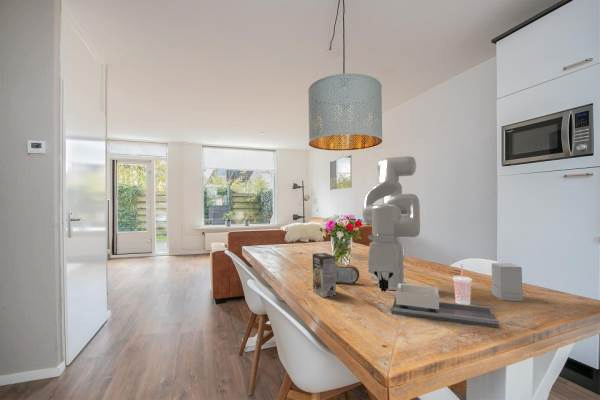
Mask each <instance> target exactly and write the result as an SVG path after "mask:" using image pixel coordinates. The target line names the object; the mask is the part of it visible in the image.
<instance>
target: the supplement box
mask: <svg viewBox="0 0 600 400" xmlns="http://www.w3.org/2000/svg"><path fill="white" fill-rule="evenodd" d="M522 271H523V269H522V266H519V265H517V264H513V263H507V262H495V263H494V262H492V263H491V284H492V288H491V290H492V295H493V296H494V297H496V298H497V299H499V300H501V301H507V302H509V301H511V302H523V300H524V295H523V293H524V291H523V272H522Z"/></svg>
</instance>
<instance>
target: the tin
mask: <svg viewBox="0 0 600 400" xmlns="http://www.w3.org/2000/svg"><path fill="white" fill-rule="evenodd" d="M359 278H360V271H359V270H358V268H357V267H356V266H354V265H350V264H337V263H336V282H337V283H336V284H344V283H348V284H347V285H353V284H355V283H357V282H358V281H359Z"/></svg>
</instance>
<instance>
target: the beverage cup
mask: <svg viewBox="0 0 600 400" xmlns="http://www.w3.org/2000/svg"><path fill="white" fill-rule="evenodd" d="M463 267H464V266H463V264H461V265H460V270H461V271H460V275H455V276H452V280H453V285H454V286H453V287H454V298H455V303H456V304H465V305H471V295H472V290H471V289H472V281H473V279H472V278H471V277H468V276H464V274H463V273H464V271H463V269H464V268H463Z"/></svg>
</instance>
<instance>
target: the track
mask: <svg viewBox="0 0 600 400" xmlns="http://www.w3.org/2000/svg"><path fill="white" fill-rule="evenodd" d="M435 310H436V312H430V311H429V308H424V307H416V306H407V305H406V308H400V305H399V304H396V296H394V301H393V304H392V306H391V310H390V311H391V313H390V314H391V315H401V316H406V317H415V318H422V319H428V320H438V321H443V322H444V321H445V322H452V323H458V324H466V325H474V326H482V327H488V328H496V329H499V319H496V318H495V317H494V315H493V312H492V310H491V306H483V305H482V306H480V305H473V304H469V305H465V304H458V303H456V302H446V301H439V309H435Z"/></svg>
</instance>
